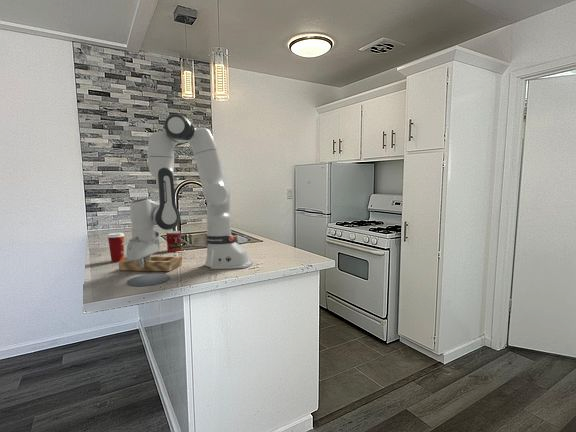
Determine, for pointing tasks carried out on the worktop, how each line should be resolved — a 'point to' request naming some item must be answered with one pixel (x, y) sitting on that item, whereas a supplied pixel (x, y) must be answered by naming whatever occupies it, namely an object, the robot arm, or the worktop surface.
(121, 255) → the paper cup
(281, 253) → the worktop surface
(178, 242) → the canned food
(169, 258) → the oak link
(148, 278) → the slate mat
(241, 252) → the robot arm
